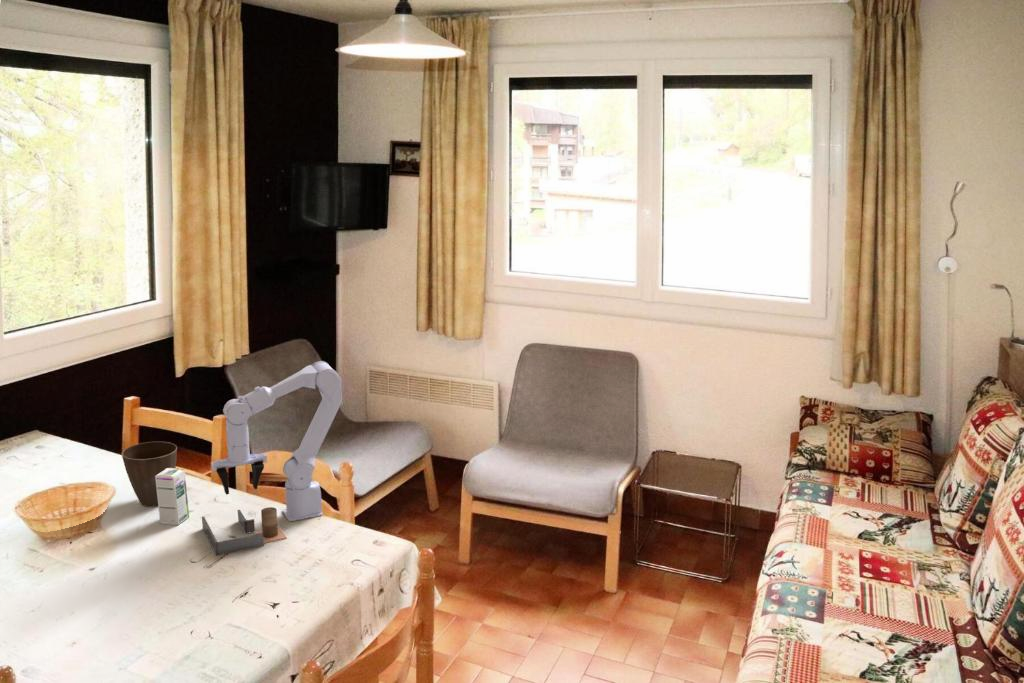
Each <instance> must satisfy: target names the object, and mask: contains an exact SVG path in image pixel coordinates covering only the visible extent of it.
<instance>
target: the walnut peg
mask: <svg viewBox="0 0 1024 683" xmlns="http://www.w3.org/2000/svg"><path fill="white" fill-rule="evenodd" d="M260 514H261V531H262V533H263V537H265V538H272V537H275V536H277V535H278V528H277V527H278V512H277V508H276V507H272V506H271V507H270V506H269V507H264V508H262V509H261V510H260Z"/></svg>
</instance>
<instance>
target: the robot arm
mask: <svg viewBox="0 0 1024 683" xmlns="http://www.w3.org/2000/svg"><path fill="white" fill-rule="evenodd" d="M342 382H343V380H342V379H341V377H340V375H339V373H338V372H337V371H336V370H335V369H333V368H332V367H331V366H330V365H329V363H328V362H326V361H324V360H319V361H316V362H314V363H313V364H309V365H306V366H305V367H304V368H302V369H301V370H299V371H297V372H296V373H294V374H292V375H289V376H288V377H287V378H285V379H283V380H281V381H279V382H278V383H275V384H274V385H272V386H270V387H268V386H263V385H262V386H261V387H260V386H255V387H254V390H253V391H250V392H248V393H247V394H245V395H238V396H237V398H233V399H230V400H228V401H227V402H226V403H225V404H224V406H223V409H222V412H223V414H224V416H225V421H226V422H225V426H226V427H225V433H226V447H227V449H226V450H227V457H226V458H223V459H219V460H216V461H211V462H210V466H211V467H210V468H211V471H212V472H216V473H217V475H218V477H219V480H220V481H221V483H222V486H223V489H224V490H223V491H224V494H226V495H230V489H229V473H228V470H227V469H230V468H234V467H241V466H247V465H250V466H251V473H252V476H251V477H252V488H253V489H254V490H258V485H259V481H260V478H261V475H262V473H263V470H264V469H265V464H264V463H267V462H268V456H267V454H266V453H256V454H255V453H254V454H253V453H250V440H249V439H250V436H249V435H250V433H249V425H248V420H249V418H250V417H252V416H254V415H256V414H258V413H260V412H262V411H264V410H265V409H267V408H269V407H272V406H273V405H274V403H275V401H276V399H279V398H281V397H282V396H284V395H287V394H289V393H292V392H294V391H296V390H298V389H301V388H309V389H313V390H316V386H317V388H318V391H319V394H320V395H321V398H322V399H321V401H320V403H319V405H318V408H317V409H316V412H315V413H314V416H313V418H312V420H311V422H310V424H309V426H308V428H307V430H306V432H305V435H304V436H303V439H302V440H301V443H300V444H299V447H298V448H297V449H296V450H294V451H293V452H292V454H291V456H290V458H288V459H287V460H286V461H285V462H284V464H283V467H282V471H283V474H284V475H285V476H286V477H287V478H286V481H285V482H284V487H285V488H284V490H285V491H284V492H285V504H286V508H284V509H282V513H283V514H284V516H285V517H286V519H287V520H288V521H289V522H294V521H299V520H304V518H305V519H310V518H314V517H319V516H323V514H324V513H323V512H322V510H323V508H322V492H321V486H320V484H319V482H318V481H317V480H315V481H313V474H314V473H313V472H314V470H315V467H316V457H317V454H318V452H319V451H320V449H321V447H322V444H323V442H324V440H325V438H326V436H327V434H328V433H329V430H330V428H331V426H332V423H333V421H334V420H335V417H336V415H337V412H338V411H339V409H340V406H341V405H342V402H343V390H342V384H343V383H342ZM309 517H310V518H309Z"/></svg>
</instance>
